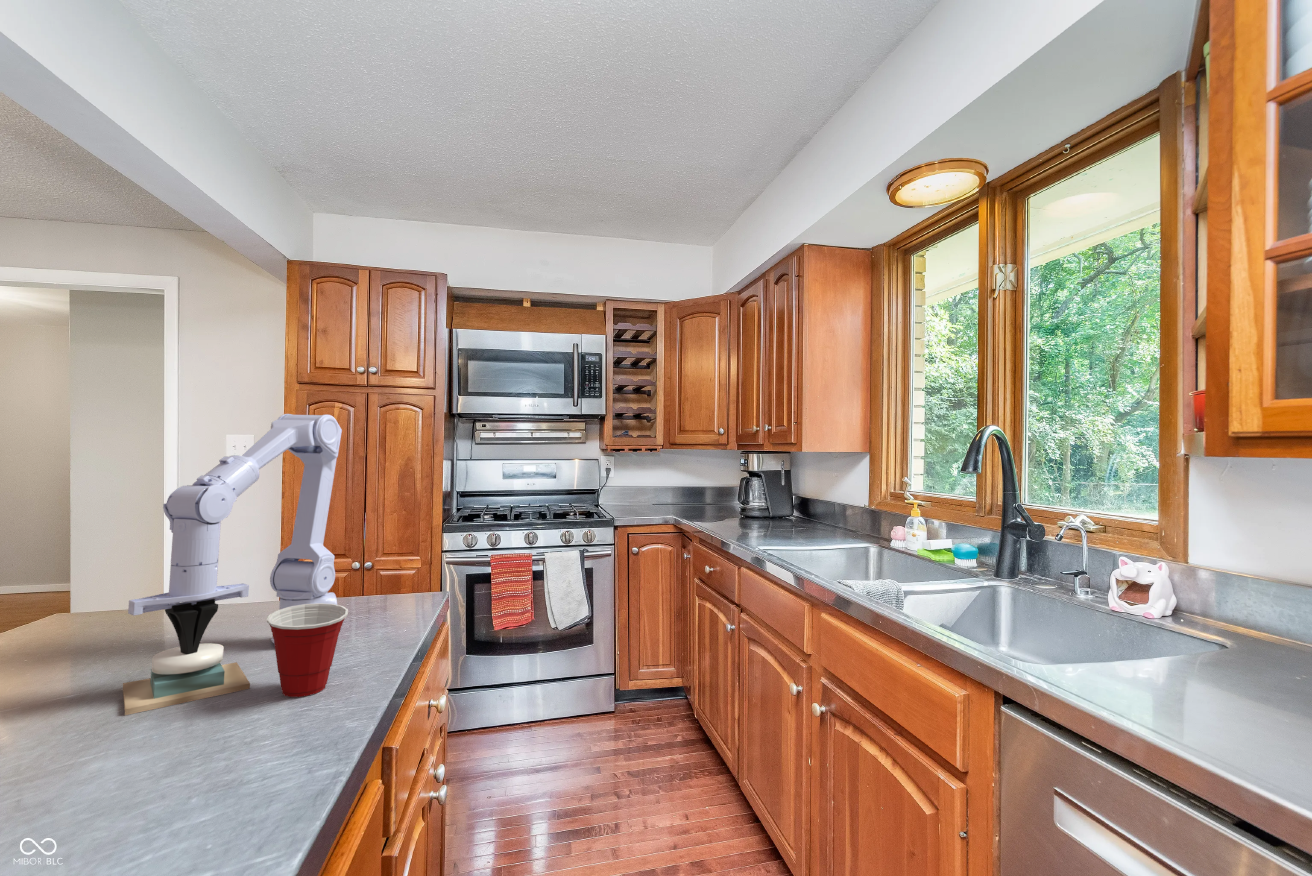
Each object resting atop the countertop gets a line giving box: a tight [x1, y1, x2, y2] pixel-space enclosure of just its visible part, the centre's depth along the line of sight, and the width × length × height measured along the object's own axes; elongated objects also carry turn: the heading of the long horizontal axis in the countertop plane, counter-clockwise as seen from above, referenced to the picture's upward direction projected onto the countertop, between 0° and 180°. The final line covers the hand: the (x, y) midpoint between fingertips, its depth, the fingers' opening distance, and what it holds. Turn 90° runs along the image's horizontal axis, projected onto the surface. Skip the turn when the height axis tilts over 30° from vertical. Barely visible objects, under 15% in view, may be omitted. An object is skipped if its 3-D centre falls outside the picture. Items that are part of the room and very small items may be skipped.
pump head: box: [151, 642, 225, 674], centre depth 86 cm, size 8×8×4 cm
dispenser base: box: [122, 662, 251, 716], centre depth 86 cm, size 14×12×3 cm
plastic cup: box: [266, 603, 349, 698], centre depth 87 cm, size 11×11×12 cm
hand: (188, 652), depth 86 cm, fingers closed, pressing on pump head
